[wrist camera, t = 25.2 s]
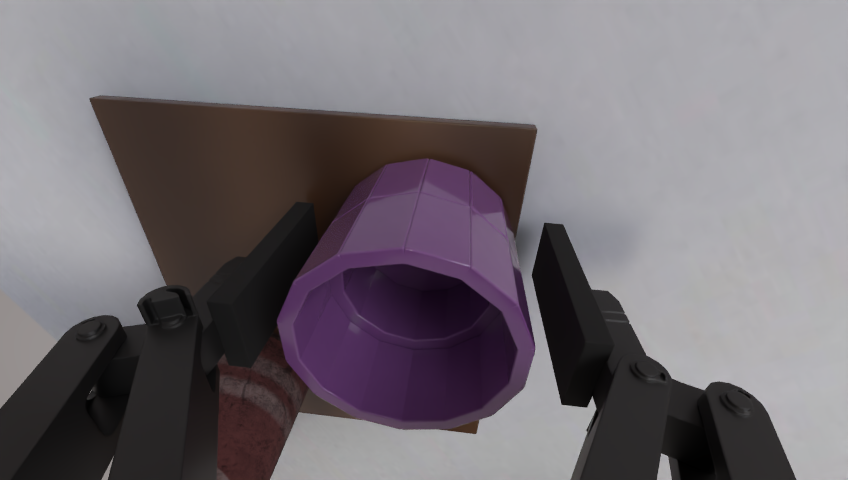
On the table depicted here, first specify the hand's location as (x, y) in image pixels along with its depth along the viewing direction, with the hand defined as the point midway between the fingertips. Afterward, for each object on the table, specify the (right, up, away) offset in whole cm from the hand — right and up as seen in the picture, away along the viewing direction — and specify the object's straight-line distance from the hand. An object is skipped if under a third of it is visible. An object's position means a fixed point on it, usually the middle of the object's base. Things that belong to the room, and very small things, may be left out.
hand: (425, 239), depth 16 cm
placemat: (-5, -3, +4) cm, 7 cm away
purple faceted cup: (0, 0, 0) cm, 0 cm away
